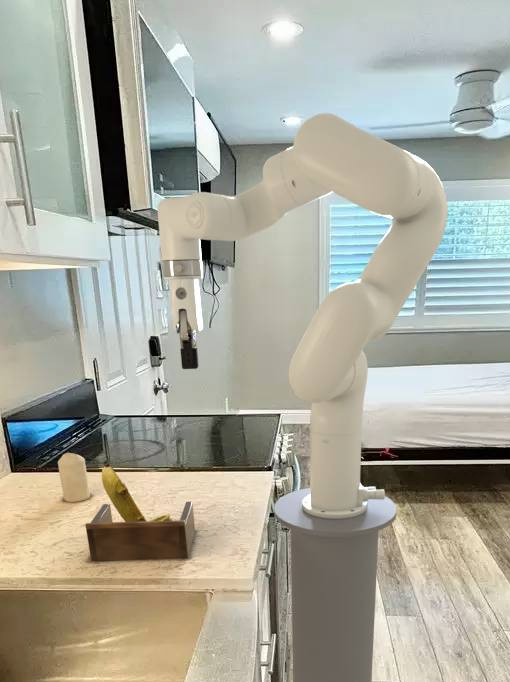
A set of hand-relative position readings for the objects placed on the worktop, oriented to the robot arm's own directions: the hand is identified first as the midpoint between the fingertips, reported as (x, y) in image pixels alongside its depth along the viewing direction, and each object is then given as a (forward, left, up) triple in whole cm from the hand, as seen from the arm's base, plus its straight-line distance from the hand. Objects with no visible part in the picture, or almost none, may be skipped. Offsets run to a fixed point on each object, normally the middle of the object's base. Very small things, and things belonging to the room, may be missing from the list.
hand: (190, 368), depth 116 cm
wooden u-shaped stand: (+7, +26, -27) cm, 38 cm away
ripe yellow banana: (+8, +24, -27) cm, 37 cm away
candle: (+27, +1, -27) cm, 38 cm away
